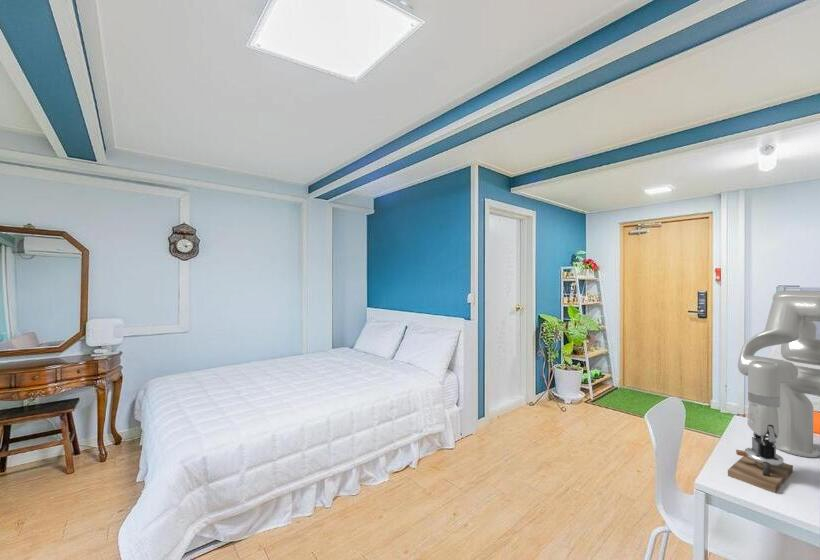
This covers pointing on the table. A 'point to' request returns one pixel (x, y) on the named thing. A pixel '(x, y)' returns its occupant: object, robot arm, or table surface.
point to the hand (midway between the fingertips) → (763, 453)
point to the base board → (760, 473)
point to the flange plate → (761, 459)
